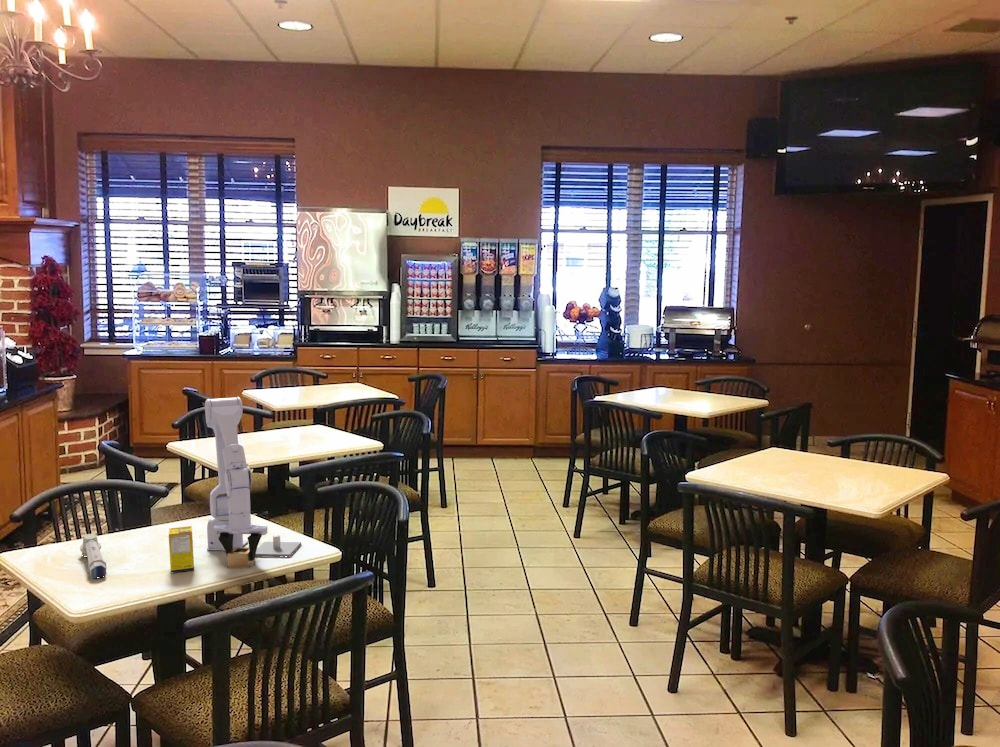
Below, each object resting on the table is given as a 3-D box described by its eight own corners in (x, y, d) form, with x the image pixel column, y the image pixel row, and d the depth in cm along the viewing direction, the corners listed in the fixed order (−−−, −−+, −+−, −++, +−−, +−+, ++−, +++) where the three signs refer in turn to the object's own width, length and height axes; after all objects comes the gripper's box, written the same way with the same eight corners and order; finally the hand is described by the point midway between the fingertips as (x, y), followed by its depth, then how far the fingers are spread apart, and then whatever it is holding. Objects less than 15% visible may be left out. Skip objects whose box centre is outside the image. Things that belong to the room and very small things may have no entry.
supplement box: (193, 563, 231) (191, 525, 230) (194, 570, 226) (192, 531, 225) (170, 566, 229) (168, 527, 228) (170, 573, 224) (168, 534, 223)
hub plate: (251, 556, 237) (251, 541, 237) (264, 544, 248) (264, 530, 248) (289, 557, 237) (289, 542, 236) (301, 544, 247) (300, 530, 247)
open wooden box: (227, 567, 228) (227, 553, 228) (235, 560, 234) (234, 546, 233) (248, 568, 228) (247, 553, 227) (255, 561, 233) (254, 547, 233)
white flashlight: (87, 567, 218) (78, 530, 239) (88, 590, 220) (79, 551, 241) (109, 563, 221) (98, 527, 242) (110, 586, 222) (99, 548, 243)
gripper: (207, 515, 225) (209, 563, 227) (260, 515, 225) (262, 564, 226) (218, 508, 232) (220, 555, 234) (269, 508, 232) (270, 556, 233)
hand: (241, 559), depth 231 cm, fingers closed on open wooden box, 6 cm apart
